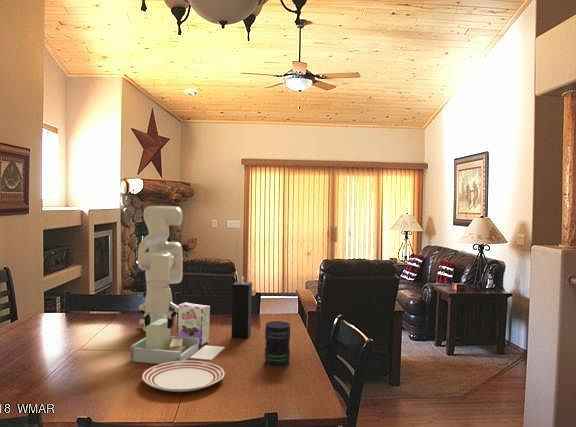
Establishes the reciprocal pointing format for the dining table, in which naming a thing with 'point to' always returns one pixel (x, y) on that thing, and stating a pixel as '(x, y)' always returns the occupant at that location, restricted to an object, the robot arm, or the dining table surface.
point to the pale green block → (158, 335)
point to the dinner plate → (183, 375)
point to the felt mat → (207, 352)
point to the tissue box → (241, 309)
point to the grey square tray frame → (163, 351)
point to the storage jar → (277, 344)
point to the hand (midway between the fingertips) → (158, 327)
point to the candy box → (194, 321)
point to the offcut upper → (176, 345)
